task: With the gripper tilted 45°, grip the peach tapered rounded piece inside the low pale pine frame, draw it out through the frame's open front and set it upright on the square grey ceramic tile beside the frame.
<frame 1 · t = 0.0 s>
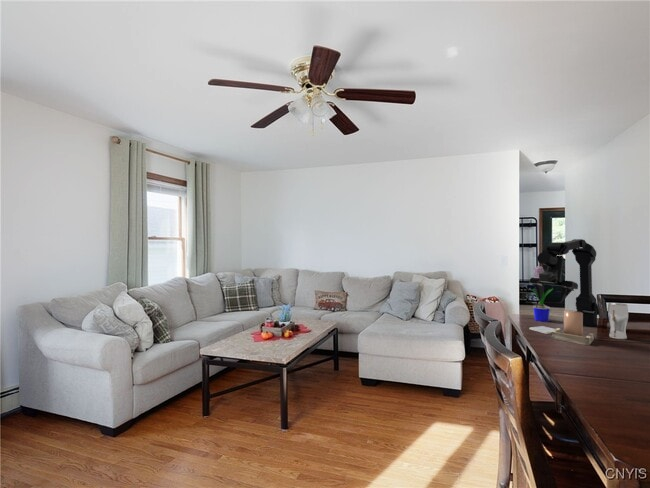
hand: (550, 301, 159), 15 cm above the table, tool pointing down, fingers open, 9 cm apart
peach tapered rounded piece: (573, 325, 153), in the frame
beer glass: (617, 337, 154), on the table
hyacinth: (543, 320, 188), on the table
frame: (573, 338, 153), on the table
tile: (544, 330, 167), on the table
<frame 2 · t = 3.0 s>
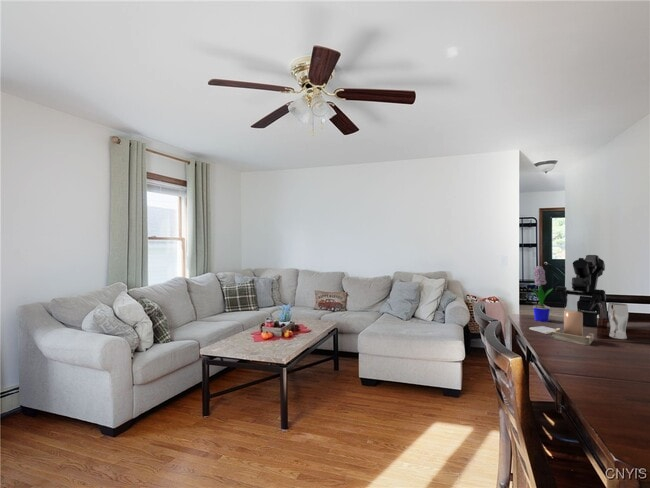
hand: (577, 308, 158), 12 cm above the table, tool tilted 45°, fingers open, 9 cm apart
nothing on the table moved.
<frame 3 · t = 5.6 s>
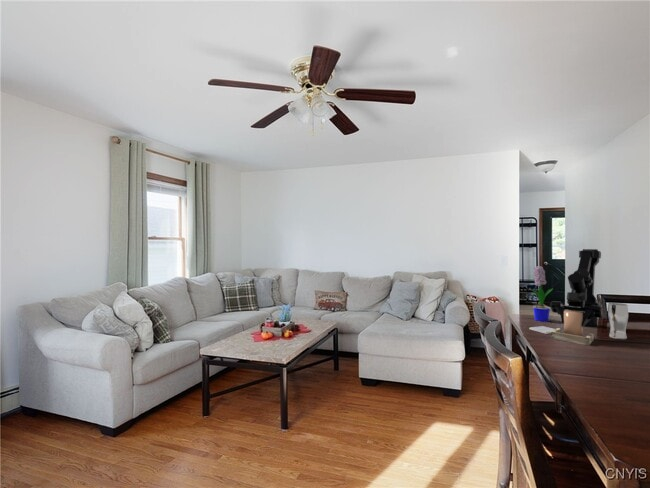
hand: (572, 324, 152), 7 cm above the table, tool tilted 45°, fingers closed on peach tapered rounded piece, 7 cm apart
peach tapered rounded piece: (573, 325, 153), in the frame, touching gripper
everything else where it was.
when the fingers open (8 cm above the table, at t = 12.2 s): peach tapered rounded piece stays where it is, resting on tile.
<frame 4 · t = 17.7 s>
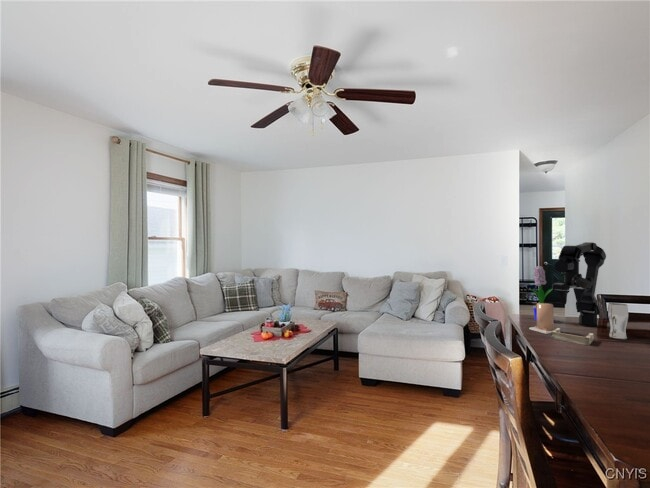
hand: (571, 303, 167), 13 cm above the table, tool pointing down, fingers open, 9 cm apart
peach tapered rounded piece: (544, 316, 167), on the tile, point 7 cm above the table
everything else where it was.
at the end: peach tapered rounded piece 0.2 cm off-centre on the tile, point 6.8 cm above the tile's base; peach tapered rounded piece tilted 0°; the gripper is holding nothing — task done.
